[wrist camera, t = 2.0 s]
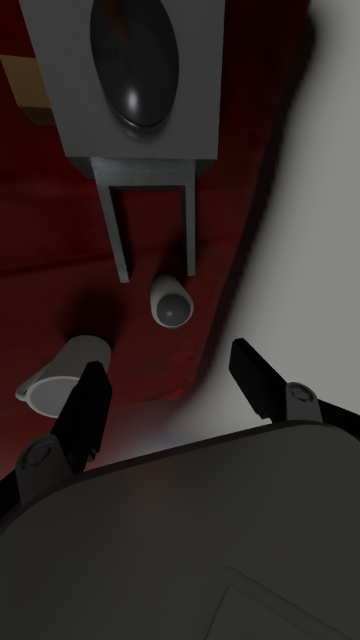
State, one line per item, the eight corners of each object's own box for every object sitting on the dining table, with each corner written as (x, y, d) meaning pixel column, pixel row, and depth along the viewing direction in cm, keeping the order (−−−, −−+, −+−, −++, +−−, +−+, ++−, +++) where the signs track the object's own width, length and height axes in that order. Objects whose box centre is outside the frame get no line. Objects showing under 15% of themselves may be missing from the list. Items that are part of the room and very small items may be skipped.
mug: (113, 332, 29) (99, 374, 20) (114, 366, 33) (103, 415, 24) (44, 330, 26) (-7, 378, 17) (54, 368, 30) (17, 423, 21)
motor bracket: (18, 44, 13) (-99, -135, 7) (199, 65, 16) (237, -52, 10) (96, 281, 24) (78, 298, 17) (198, 271, 26) (215, 282, 20)
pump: (147, 276, 25) (148, 293, 18) (180, 273, 26) (194, 288, 18) (153, 313, 29) (156, 341, 21) (182, 309, 29) (195, 335, 22)
